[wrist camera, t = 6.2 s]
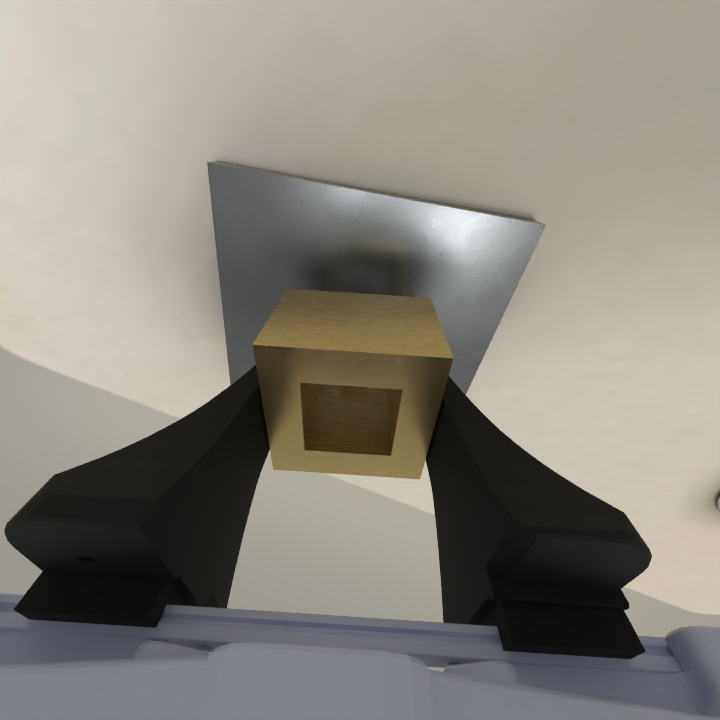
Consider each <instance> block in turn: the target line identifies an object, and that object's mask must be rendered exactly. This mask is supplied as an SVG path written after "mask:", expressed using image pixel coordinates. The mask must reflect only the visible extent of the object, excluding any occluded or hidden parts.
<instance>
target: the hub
mask: <svg viewBox="0 0 720 720" xmlns="http://www.w3.org/2000/svg"><path fill="white" fill-rule="evenodd" d="M253 350H254V356H255V362H256V368H257V374H258V380H259V386H260V392H261V398H262V404H263V410H264V416H265V422H266V428H267V434H268V440H269V446H270V452H271V458H272V464H273V469H276V470H291V471H305V472H320V473H335V474H350V475H365V476H379V477H394V478H409V479H420V477H421V473H422V470H423V466H424V463H425V459H426V455H427V452H428V448H429V445H430V441H431V437H432V434H433V430H434V427H435V423H436V419H437V416H438V412H439V409H440V405H441V401H442V398H443V394H444V391H445V387H446V383H447V380H448V376H449V373H450V369H451V365H452V362H453V356H452V353H451V350H450V348H449V345H448V342H447V340H446V337H445V335H444V332H443V329H442V327H441V324H440V321H439V319H438V316H437V313H436V311H435V308H434V305H433V303H432V300H431V298H419V297H405V296H390V295H375V294H361V293H346V292H331V291H317V290H302V289H287V290H286V291H285V293H284V294H283V296H282V298H281V299H280V301H279V303H278V304H277V306H276V307H275V309H274V311H273V312H272V314H271V316H270V317H269V319H268V320H267V322H266V324H265V325H264V327H263V329H262V330H261V332H260V333H259V335H258V337H257V338H256V340H255V342H254V343H253Z"/></svg>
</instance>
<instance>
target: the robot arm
mask: <svg viewBox="0 0 720 720" xmlns="http://www.w3.org/2000/svg"><path fill="white" fill-rule="evenodd" d="M269 450H270V446H269V440H268V434H267V428H266V422H265V416H264V410H263V404H262V398H261V392H260V386H259V380H258V374H257V368H256V365H255V366H254V367H252V368H251V369H250V370H249V371H248V372H246V373H245V374H244V375H243V376H242V377H240V378H239V379H238V380H237V381H236V382H234V383H233V384H232V385H231V386H229V387H228V388H227V389H225V390H224V391H223V392H221V393H220V394H218V395H217V396H216V397H214V398H213V399H212V400H210V401H209V402H207V403H206V404H204V405H203V406H201V407H200V408H198V409H197V410H195V411H194V412H192V413H190V414H189V415H187V416H185V417H184V418H182V419H180V420H179V421H177V422H175V423H173V424H171V425H169V426H167V427H166V428H164V429H162V430H160V431H158V432H156V433H154V434H152V435H150V436H149V437H146V438H144V439H142V440H140V441H138V442H136V443H134V444H131V445H129V446H127V447H125V448H122V449H120V450H118V451H115V452H113V453H111V454H108V455H106V456H104V457H101V458H99V459H96V460H93V461H90V462H88V463H85V464H83V465H80V466H77V467H75V468H72V469H69V470H67V471H64V472H61V473H58V474H55V475H54V476H53V477H52V478H51V479H50V480H49V481H48V482H47V483H46V484H45V485H44V486H43V487H42V488H41V489H40V490H39V491H38V492H37V493H36V494H35V495H34V496H33V497H32V498H31V499H30V500H29V501H28V502H27V503H26V504H25V505H24V507H23V508H22V509H20V510H19V512H18V513H17V514H16V515H15V516H14V517H13V518H12V519H11V520H10V521H9V522H8V523H7V524H6V527H5V535H6V538H7V540H8V542H9V543H10V544H11V545H12V546H13V547H14V548H15V549H17V550H18V551H19V552H20V553H21V554H23V555H24V556H25V557H26V558H28V559H29V560H30V561H31V562H32V563H34V564H35V565H36V566H37V567H39V568H40V569H41V570H42V571H43V572H42V573H41V575H40V576H39V577H38V578H37V580H36V581H35V582H34V583H33V585H32V586H31V587H30V589H29V590H28V591H27V592H26V594H25V595H16V594H1V593H0V720H720V627H704V626H688V627H682V628H679V629H676V630H674V631H671V632H670V633H668V634H667V635H666V637H665V638H664V637H647V636H637V634H636V632H635V630H634V629H633V627H632V625H631V623H630V621H629V619H628V617H627V615H626V614H625V612H624V610H627V609H628V608H629V603H628V601H627V599H626V598H625V596H624V594H623V592H622V591H621V588H622V587H624V586H625V585H626V584H628V583H629V582H630V581H632V580H633V579H635V578H636V577H637V576H639V575H640V574H641V573H642V572H643V571H644V570H645V569H646V568H647V567H648V566H649V563H650V561H651V558H652V555H651V552H650V549H649V548H648V547H647V545H646V544H645V542H644V541H643V539H642V538H641V536H640V535H639V533H638V532H637V531H636V529H635V528H634V526H633V525H632V523H631V522H630V520H629V519H628V518H627V516H626V515H625V513H624V512H622V511H620V510H618V509H617V508H615V507H613V506H611V505H609V504H608V503H606V502H604V501H602V500H600V499H599V498H597V497H595V496H593V495H592V494H590V493H588V492H586V491H584V490H583V489H581V488H579V487H578V486H576V485H575V484H573V483H571V482H570V481H568V480H567V479H565V478H563V477H562V476H560V475H559V474H557V473H556V472H554V471H553V470H551V469H550V468H548V467H547V466H545V465H544V464H542V463H541V462H540V461H538V460H537V459H536V458H534V457H533V456H532V455H530V454H529V453H527V452H526V451H525V450H523V449H522V448H521V447H520V446H518V445H517V444H516V443H515V442H513V441H512V440H511V439H510V438H509V437H508V436H506V435H505V434H504V433H503V432H502V431H500V430H499V429H498V428H497V427H496V426H495V425H494V424H493V423H492V422H491V421H490V420H489V419H488V418H487V417H486V416H485V415H484V414H483V413H482V412H481V411H480V410H479V409H478V408H477V407H476V406H475V405H474V404H473V403H472V402H471V401H470V400H469V399H468V397H467V396H466V395H465V394H464V393H463V392H462V391H461V389H460V388H459V387H458V386H457V385H456V384H455V382H454V381H453V380H452V379H451V378H450V376H448V380H447V383H446V387H445V391H444V394H443V398H442V401H441V405H440V409H439V412H438V416H437V419H436V423H435V427H434V430H433V434H432V437H431V441H430V445H429V448H428V452H427V455H426V463H427V467H428V472H429V476H430V481H431V486H432V492H433V500H434V509H435V518H436V527H437V538H438V548H439V561H440V574H441V587H442V605H443V621H444V623H437V622H423V621H408V620H407V621H406V620H393V619H377V618H363V617H348V616H333V615H332V616H331V615H318V614H302V613H287V612H272V611H256V610H242V609H227V604H228V599H229V595H230V590H231V586H232V580H233V576H234V572H235V567H236V563H237V559H238V555H239V551H240V546H241V542H242V538H243V534H244V530H245V526H246V522H247V518H248V515H249V511H250V507H251V503H252V499H253V496H254V492H255V489H256V485H257V482H258V478H259V476H260V473H261V470H262V468H263V465H264V462H265V460H266V457H267V455H268V452H269ZM209 652H211V653H210V654H209ZM428 667H442V668H445V669H444V672H441V671H435V670H430V669H428Z"/></svg>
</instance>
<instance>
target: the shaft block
mask: <svg viewBox="0 0 720 720" xmlns="http://www.w3.org/2000/svg"><path fill="white" fill-rule="evenodd" d="M207 164H208V173H209V183H210V192H211V202H212V211H213V221H214V230H215V240H216V249H217V259H218V268H219V278H220V288H221V297H222V307H223V316H224V326H225V335H226V345H227V354H228V364H229V373H230V383H231V385H232V384H233V383H234V382H236V381H237V380H238V379H239V378H240V377H242V376H243V375H244V374H245V373H246V372H248V371H249V370H250V369H251V368H252V367H254V366H255V365H256V362H255V356H254V350H253V343H254V342H255V340H256V338H257V337H258V335H259V333H260V332H261V330H262V329H263V327H264V325H265V324H266V322H267V320H268V319H269V317H270V316H271V314H272V312H273V311H274V309H275V307H276V306H277V304H278V303H279V301H280V299H281V298H282V296H283V294H284V293H285V291H286V290H287V289H302V290H317V291H331V292H346V293H361V294H375V295H390V296H405V297H419V298H431V300H432V303H433V305H434V308H435V311H436V313H437V316H438V319H439V321H440V324H441V327H442V329H443V332H444V335H445V337H446V340H447V342H448V345H449V348H450V350H451V353H452V356H453V362H452V365H451V369H450V373H449V376H450V378H451V379H452V380H453V381H454V382H455V384H456V385H457V386H458V387H459V388H460V389H461V391H462V392H463V393H464V394H465V395H466V393H467V391H468V388H469V386H470V384H471V382H472V380H473V378H474V376H475V374H476V371H477V369H478V367H479V365H480V363H481V361H482V359H483V357H484V355H485V352H486V350H487V348H488V346H489V344H490V342H491V340H492V338H493V335H494V333H495V331H496V329H497V327H498V325H499V323H500V321H501V318H502V316H503V314H504V312H505V310H506V308H507V306H508V304H509V301H510V299H511V297H512V295H513V293H514V291H515V289H516V287H517V285H518V282H519V280H520V278H521V276H522V274H523V272H524V270H525V268H526V265H527V263H528V261H529V259H530V257H531V255H532V253H533V251H534V248H535V246H536V244H537V242H538V240H539V238H540V236H541V234H542V231H543V229H544V227H545V225H544V224H542V223H540V222H538V221H536V220H530V219H525V218H520V217H514V216H509V215H504V214H498V213H493V212H487V211H482V210H477V209H471V208H466V207H461V206H455V205H450V204H445V203H439V202H434V201H428V200H423V199H418V198H412V197H407V196H402V195H396V194H391V193H386V192H380V191H375V190H369V189H364V188H359V187H353V186H348V185H343V184H337V183H332V182H326V181H321V180H316V179H310V178H305V177H300V176H294V175H289V174H284V173H278V172H273V171H267V170H262V169H257V168H251V167H246V166H241V165H235V164H230V163H225V162H219V161H216V162H207Z"/></svg>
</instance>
